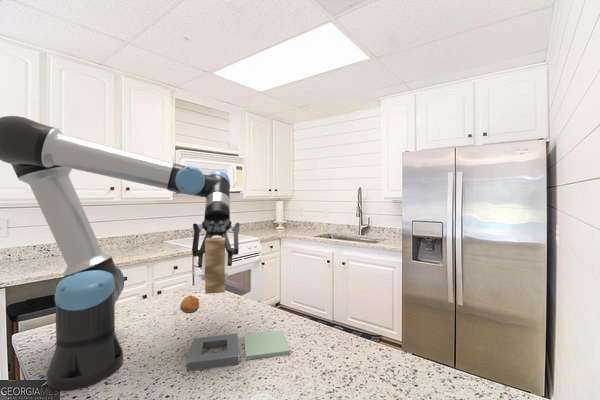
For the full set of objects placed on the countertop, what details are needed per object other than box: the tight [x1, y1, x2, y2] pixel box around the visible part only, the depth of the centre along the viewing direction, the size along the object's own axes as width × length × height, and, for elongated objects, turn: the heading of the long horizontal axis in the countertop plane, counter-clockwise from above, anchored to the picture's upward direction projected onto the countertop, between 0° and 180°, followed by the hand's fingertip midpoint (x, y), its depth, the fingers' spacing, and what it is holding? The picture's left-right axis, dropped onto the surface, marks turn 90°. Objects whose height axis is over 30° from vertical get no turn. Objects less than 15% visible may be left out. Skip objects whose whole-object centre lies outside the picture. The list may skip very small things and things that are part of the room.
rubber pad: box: [243, 329, 291, 361], centre depth 83 cm, size 12×12×1 cm
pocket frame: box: [186, 333, 240, 372], centre depth 78 cm, size 12×12×2 cm
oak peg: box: [204, 237, 226, 295], centre depth 78 cm, size 5×5×14 cm
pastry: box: [180, 295, 200, 313], centre depth 110 cm, size 9×7×4 cm
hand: (214, 276), depth 74 cm, fingers closed on oak peg, 5 cm apart
